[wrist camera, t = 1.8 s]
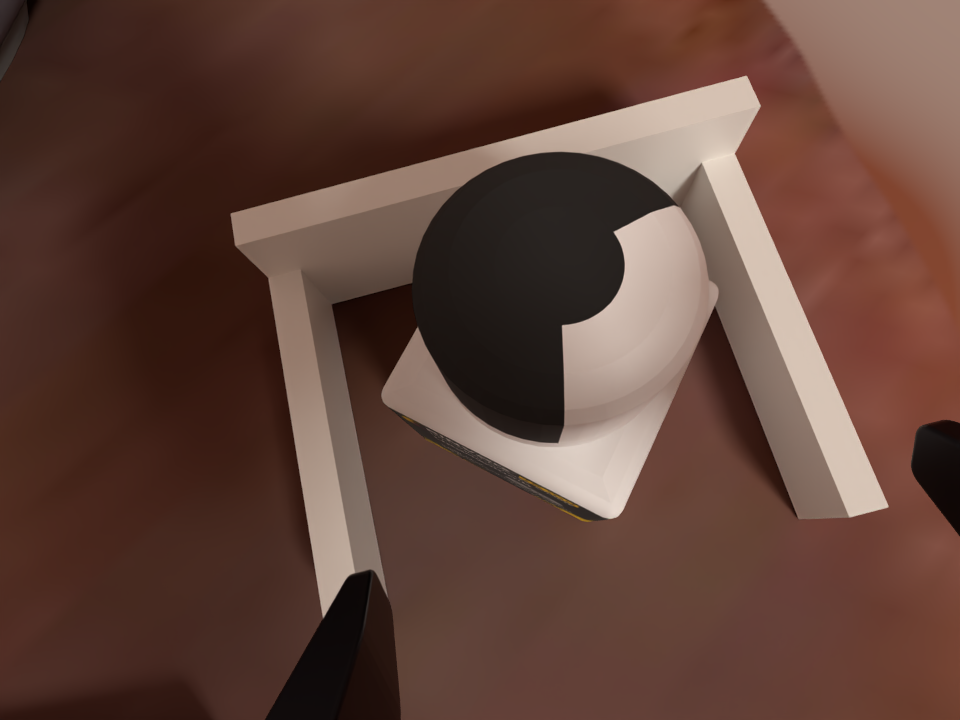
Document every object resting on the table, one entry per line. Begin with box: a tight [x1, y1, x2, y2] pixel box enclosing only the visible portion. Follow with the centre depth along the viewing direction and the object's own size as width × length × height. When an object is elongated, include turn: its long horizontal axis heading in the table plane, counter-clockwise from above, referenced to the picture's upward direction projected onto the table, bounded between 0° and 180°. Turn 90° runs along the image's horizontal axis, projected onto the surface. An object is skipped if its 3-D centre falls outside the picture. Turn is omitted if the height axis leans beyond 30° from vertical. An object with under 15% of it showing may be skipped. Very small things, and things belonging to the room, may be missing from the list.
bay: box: [231, 76, 889, 618], centre depth 20 cm, size 14×17×6 cm
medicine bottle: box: [381, 152, 719, 522], centre depth 17 cm, size 7×7×12 cm
